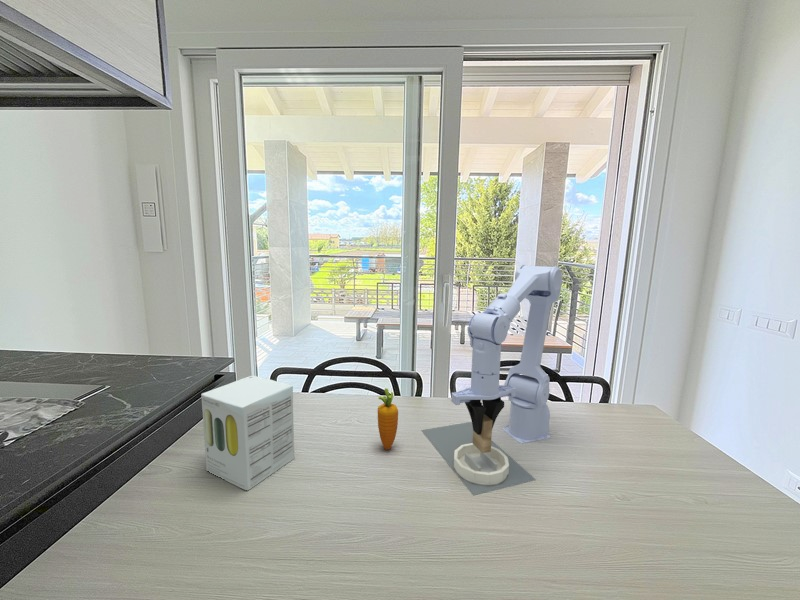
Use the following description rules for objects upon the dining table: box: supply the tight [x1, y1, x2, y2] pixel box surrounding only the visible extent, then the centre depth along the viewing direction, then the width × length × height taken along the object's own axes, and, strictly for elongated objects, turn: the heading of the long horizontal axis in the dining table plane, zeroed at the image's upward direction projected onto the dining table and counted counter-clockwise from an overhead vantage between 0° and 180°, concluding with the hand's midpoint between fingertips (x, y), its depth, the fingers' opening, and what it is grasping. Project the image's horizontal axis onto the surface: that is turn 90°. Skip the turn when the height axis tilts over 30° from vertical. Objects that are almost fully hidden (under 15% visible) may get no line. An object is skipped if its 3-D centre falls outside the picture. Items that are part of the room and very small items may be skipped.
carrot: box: [377, 387, 399, 451], centre depth 82 cm, size 5×5×15 cm
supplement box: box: [200, 374, 296, 491], centre depth 75 cm, size 13×13×18 cm
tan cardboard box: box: [473, 414, 493, 453], centre depth 75 cm, size 2×4×7 cm, turn 19°
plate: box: [454, 443, 509, 486], centre depth 76 cm, size 11×11×2 cm
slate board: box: [420, 421, 537, 497], centre depth 82 cm, size 15×26×1 cm, turn 19°
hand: (482, 431), depth 75 cm, fingers closed on tan cardboard box, 2 cm apart
